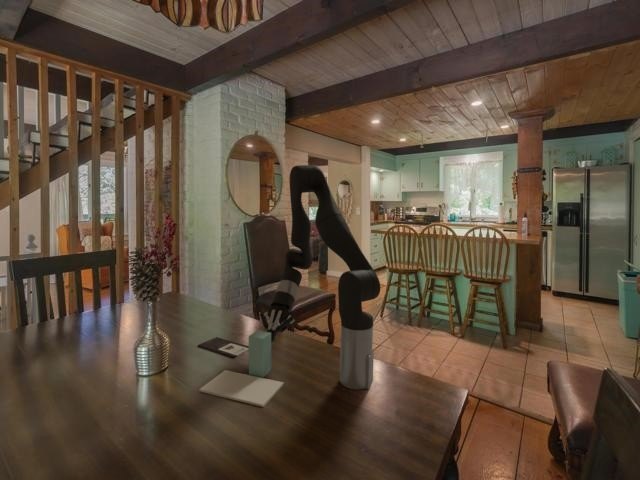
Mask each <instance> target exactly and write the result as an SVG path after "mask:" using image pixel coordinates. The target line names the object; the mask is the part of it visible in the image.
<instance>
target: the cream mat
mask: <svg viewBox="0 0 640 480" xmlns="http://www.w3.org/2000/svg"><path fill="white" fill-rule="evenodd" d="M284 384H285V383H284V382H283V381H280V380H274V379H268V378H264V377H259V376H255V375H250V374H245V373H239V372H235V371H231V370H227V369H226V370H225V369H224V370H223V371H222V372H220V374H218V375H217V376H216V377H214V378H212V379H211V380H210V381H208V382H207V383H206V384H205V385H203V386H202V387H200V388H199V390H198V391H199V392H201V393H204V394H208V395H213V396H217V397H222V398H225V399H229V400H233V401H238V402H242V403H246V404H249V405H253V406H258V407H262V408H264V407H265V406H266V405H268V403H269V402H270V401H271V400H272V398H273V397H274V396H276V394H277V393H278V392H279V390H281V388H282V387H283V386H284Z"/></svg>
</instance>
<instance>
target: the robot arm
mask: <svg viewBox="0 0 640 480" xmlns="http://www.w3.org/2000/svg"><path fill="white" fill-rule="evenodd" d="M328 183H329V182H328V181H327V178H326V176H325V173H324V172H323V169H322V168H321V167H320V166H318V165H315V164H307V165H306V164H304V165H303V164H302V165H301V164H300V165H295V166H292V168H291V169H290V172H289V196H290V197H289V198H290V207H291V209H290V210H291V231H290V234H291V236H290V243H291V245H292V246H293V247H296V248H290V249H288V250H287V251H286V252H285V255H284V256H285V257H284V267H283V268H284V269H283V274H282V277H281V278H280V281H279V283H278V285H277V287H276V290H275V292H274V295H273V298H272V300H271V303H270V306H269V308H268V309H267V311H266V312H260V314H259V316H260V319H261V323H262V324H263V327H264V329H265V330H266V332H269V333H271V345H272V344H273V343H274V342H275V339H276V337H277V334H279V333H284V332H285V331H286V330H288V329H289V328H290V327H291V326H293V324H296V323H295V322H296V320H295V318H294V317H293V316H292V311H293V307H294V304H295V301H296V299H297V296H298V291H299V288H300V284H301V281H302V279H303V278H302V277H303V276H302V273H301V272H300V271H299V270H309V269H311V266H312V265H313V261H314V260H313V253H312V250H311V241H310V240H311V231H312V227H311V226H312V224H311V220H310V218H309V216H308V214H307V211H306V210H305V208H304V206H303V202H302V200H303V199H302V198H303V197H302V196H303V193H314V195H315V197H316V198H317V202H318V204H317V205H318V206H317V210H316V213H315V221H314V223H315V227H316V230H317V231H318V234H319V237H320V238H321V240H322V242H323V243H324V244H325V245H326V246H327V247H328V248H329V249H330V251H332V252H333V253H334V254H336V255H337V256H338V257H339V258H340V259H341V260H343V262H344V263H345V264H346V265H347V268H348V269H349V270H347V271H344V272H343V273H342V274H340V277H339V280H338V284H337V285H338V286H337V289H338V290H337V295H338V296H337V297H338V313H339V316H340V350H339V351H340V352H339V353H340V357H339V358H340V359H339V361H340V362H339V364H340V365H339V382H340V384H341V385H342V386H343V387H345V388H348V389H351V390H357V391H358V390H370V387H371V385H372V382H373V380H374V354H375V353H374V352H375V351H374V348H373V340H374V339H373V338H374V337H373V336H374V334H373V333H374V317H373V315H372V314H371V313H369V312H366V311H363V305H362V304H363V302H368V301H373V300H374V299H377V298H378V297H379V296H380V293H381V283H380V279H379V276H378V275H377V273H376V271H375V269H374V268H373V267H372V265H371V264H370V262H369V260H368V258H366V255H364V253H363V251H362V249H361V248H360V246H359V244H358V242H357V240H356V238H355V236H354V235H353V233H352V232H351V229H350V227H349V226H348V222H346V219H345V217H344V215H343V214H342V212H341V210H340V208H339V207H338V204H337V202H336V200H335V198H334V196H333V194H332V192H331V189H330V186H329V184H328ZM298 269H299V270H298ZM268 319H269V321H268Z"/></svg>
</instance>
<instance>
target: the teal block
mask: <svg viewBox="0 0 640 480" xmlns="http://www.w3.org/2000/svg"><path fill="white" fill-rule="evenodd" d="M248 346H249V351H248V375H250V376H255V377H260V378H264V377H265V376H266V375H267V374H268V373H269V372H271V370H272V344H271V333H269V332H267V331H262V330H255V331H254V332H253V333H251V334H249V335H248Z"/></svg>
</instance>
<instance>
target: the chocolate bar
mask: <svg viewBox="0 0 640 480" xmlns="http://www.w3.org/2000/svg"><path fill="white" fill-rule="evenodd" d="M197 347H198V348H201V349H203V350H207V351H210V352H214V353H215V354H216V353H217V354H219V355H222V356H225V357H229V358H232V359H235V358H237V357H239V356H240V355H243V354H245V353H247V352H249V345H245V344H243V343H239V342H235V341H232V340H228V339H224V338H222V337H217V336H216V337H214V338H211V339H209V340H206V341H204V342H201V343H199V344H197Z"/></svg>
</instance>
